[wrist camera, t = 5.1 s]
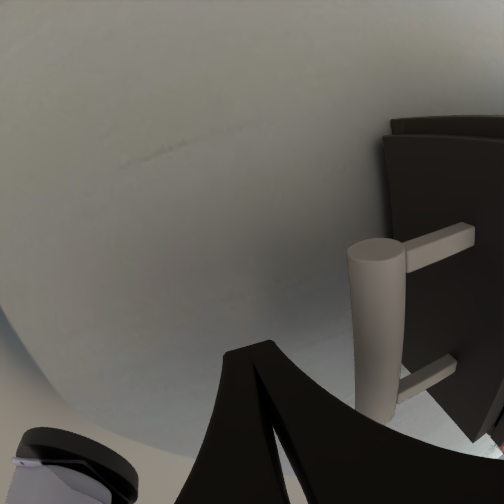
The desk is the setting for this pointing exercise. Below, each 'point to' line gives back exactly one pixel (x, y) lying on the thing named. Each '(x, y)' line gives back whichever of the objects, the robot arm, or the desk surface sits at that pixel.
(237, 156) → the desk surface
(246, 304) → the desk surface
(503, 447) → the pill bottle
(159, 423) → the desk surface
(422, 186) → the drawer
